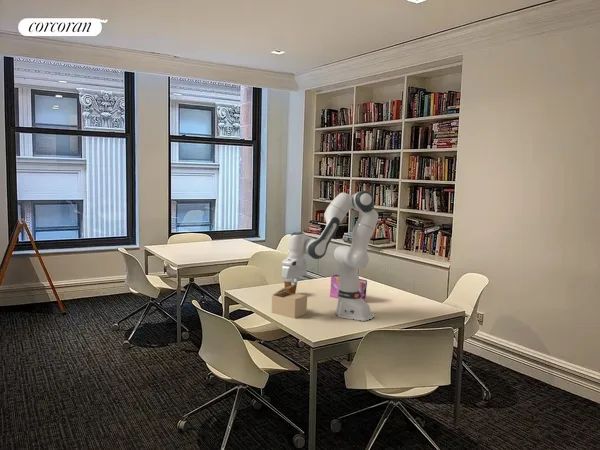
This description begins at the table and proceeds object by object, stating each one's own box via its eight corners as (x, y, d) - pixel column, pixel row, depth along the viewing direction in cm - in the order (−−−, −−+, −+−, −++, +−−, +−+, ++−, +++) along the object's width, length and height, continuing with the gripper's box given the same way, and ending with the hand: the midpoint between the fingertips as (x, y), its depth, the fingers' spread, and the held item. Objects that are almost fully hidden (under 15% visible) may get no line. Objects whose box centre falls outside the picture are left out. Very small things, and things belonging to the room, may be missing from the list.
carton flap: (293, 286, 288) (292, 285, 288) (281, 289, 278) (281, 288, 279) (284, 291, 292) (283, 290, 292) (272, 295, 282) (272, 294, 283)
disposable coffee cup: (300, 295, 324) (301, 277, 323) (292, 298, 316) (293, 279, 314) (287, 292, 329) (288, 275, 327) (280, 295, 321) (280, 277, 319)
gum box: (367, 301, 317) (369, 280, 316) (362, 303, 311) (363, 282, 309) (335, 294, 331) (336, 274, 329) (329, 296, 324) (330, 276, 322)
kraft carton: (306, 313, 284) (307, 295, 283) (294, 318, 274) (295, 299, 273) (283, 308, 293) (284, 290, 292) (271, 312, 283) (272, 294, 282)
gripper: (301, 257, 289) (299, 281, 290) (280, 261, 272) (278, 286, 273) (310, 259, 285) (308, 283, 287) (289, 263, 268) (288, 288, 270)
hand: (293, 284), depth 280 cm, fingers closed
